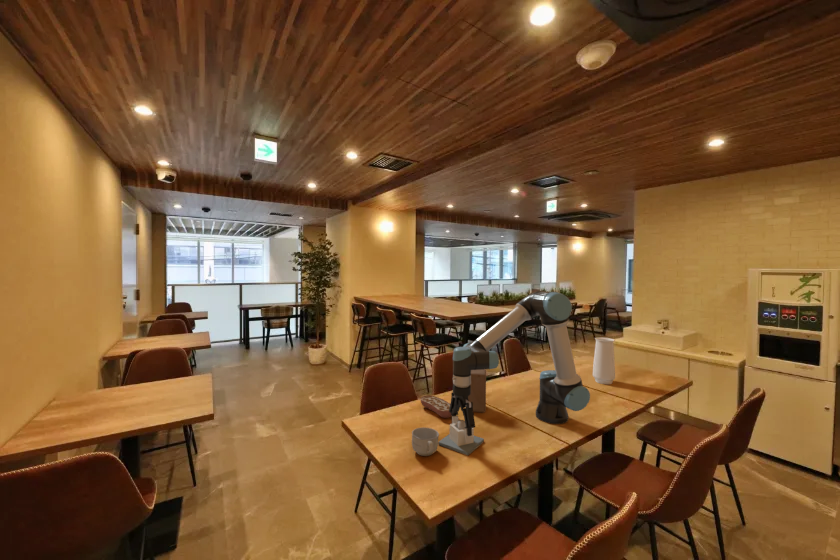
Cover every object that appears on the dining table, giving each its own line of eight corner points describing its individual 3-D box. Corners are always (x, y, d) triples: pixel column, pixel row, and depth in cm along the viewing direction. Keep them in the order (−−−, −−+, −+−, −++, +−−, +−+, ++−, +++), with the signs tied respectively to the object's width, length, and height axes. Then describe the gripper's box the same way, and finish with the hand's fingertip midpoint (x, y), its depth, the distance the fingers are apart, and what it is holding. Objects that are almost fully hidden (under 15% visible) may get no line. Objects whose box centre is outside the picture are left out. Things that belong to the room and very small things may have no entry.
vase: (619, 385, 220) (620, 341, 219) (598, 385, 220) (599, 341, 219) (608, 378, 233) (609, 337, 232) (588, 378, 233) (589, 337, 232)
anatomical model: (417, 406, 186) (417, 397, 186) (432, 402, 191) (432, 393, 191) (443, 422, 167) (443, 412, 167) (459, 417, 172) (459, 407, 172)
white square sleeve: (458, 446, 142) (458, 431, 142) (449, 438, 149) (449, 424, 149) (477, 441, 146) (477, 427, 146) (468, 433, 153) (468, 420, 152)
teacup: (411, 445, 145) (411, 426, 145) (436, 444, 146) (437, 425, 146) (413, 464, 131) (413, 443, 131) (441, 463, 132) (441, 442, 132)
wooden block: (485, 413, 177) (485, 374, 176) (465, 411, 179) (466, 373, 178) (485, 405, 187) (486, 368, 186) (467, 404, 189) (467, 367, 188)
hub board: (483, 441, 149) (484, 420, 148) (467, 455, 137) (468, 432, 137) (455, 432, 157) (455, 412, 157) (438, 444, 146) (438, 423, 145)
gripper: (441, 377, 155) (441, 426, 156) (468, 394, 134) (467, 451, 135) (456, 375, 158) (456, 423, 159) (484, 392, 137) (484, 447, 138)
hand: (461, 436), depth 147 cm, fingers open, 10 cm apart
